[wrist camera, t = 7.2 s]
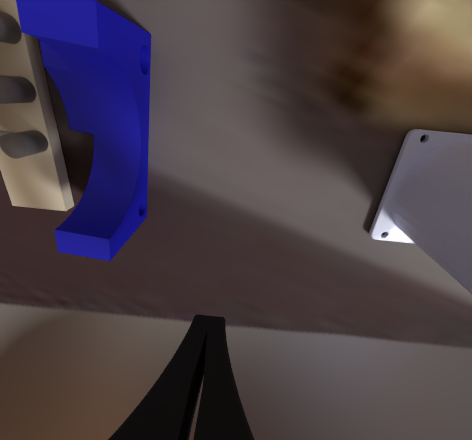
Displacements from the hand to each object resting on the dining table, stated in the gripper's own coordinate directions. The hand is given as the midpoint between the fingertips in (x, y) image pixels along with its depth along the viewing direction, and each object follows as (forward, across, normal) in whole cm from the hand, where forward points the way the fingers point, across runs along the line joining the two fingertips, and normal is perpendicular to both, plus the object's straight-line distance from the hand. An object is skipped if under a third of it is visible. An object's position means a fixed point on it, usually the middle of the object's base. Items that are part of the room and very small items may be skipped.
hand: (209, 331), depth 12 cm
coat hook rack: (+9, +14, -9) cm, 19 cm away
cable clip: (+10, +8, -7) cm, 14 cm away
